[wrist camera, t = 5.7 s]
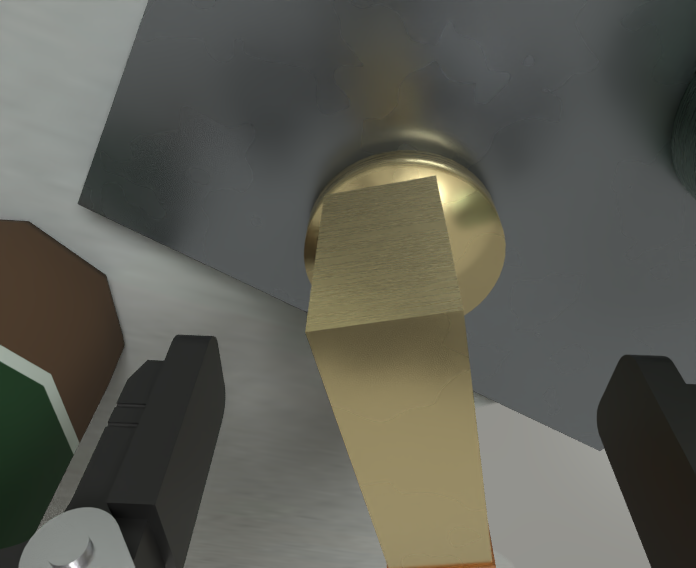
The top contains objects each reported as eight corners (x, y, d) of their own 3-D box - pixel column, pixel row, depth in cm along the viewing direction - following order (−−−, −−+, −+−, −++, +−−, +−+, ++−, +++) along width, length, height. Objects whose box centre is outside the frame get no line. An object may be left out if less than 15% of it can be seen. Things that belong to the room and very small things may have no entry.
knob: (270, 126, 13) (187, 351, 7) (490, 82, 12) (602, 294, 6) (340, 351, 18) (325, 604, 12) (504, 329, 17) (577, 589, 11)
